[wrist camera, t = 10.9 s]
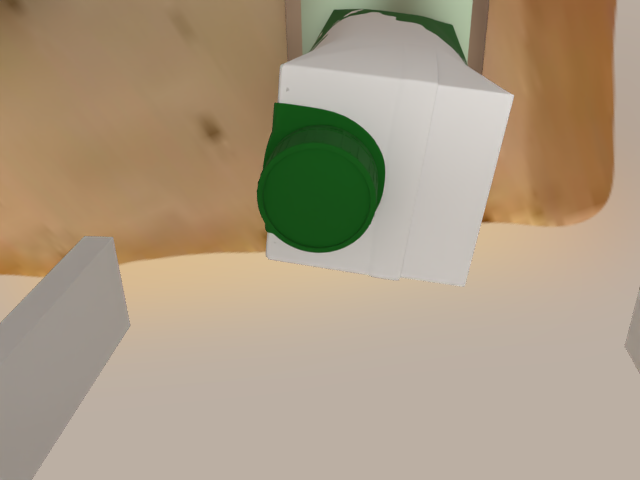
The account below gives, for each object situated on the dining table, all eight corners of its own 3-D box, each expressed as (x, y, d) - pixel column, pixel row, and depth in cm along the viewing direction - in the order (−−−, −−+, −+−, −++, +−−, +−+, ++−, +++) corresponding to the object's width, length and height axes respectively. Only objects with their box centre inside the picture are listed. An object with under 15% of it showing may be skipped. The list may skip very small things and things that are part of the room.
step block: (303, 138, 47) (291, 167, 41) (297, -33, 41) (282, -27, 36) (462, 140, 46) (473, 171, 40) (478, -36, 40) (493, -30, 34)
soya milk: (320, -10, 36) (252, 54, 18) (474, 10, 35) (559, 94, 18) (305, 134, 40) (238, 300, 22) (443, 153, 40) (487, 337, 22)
